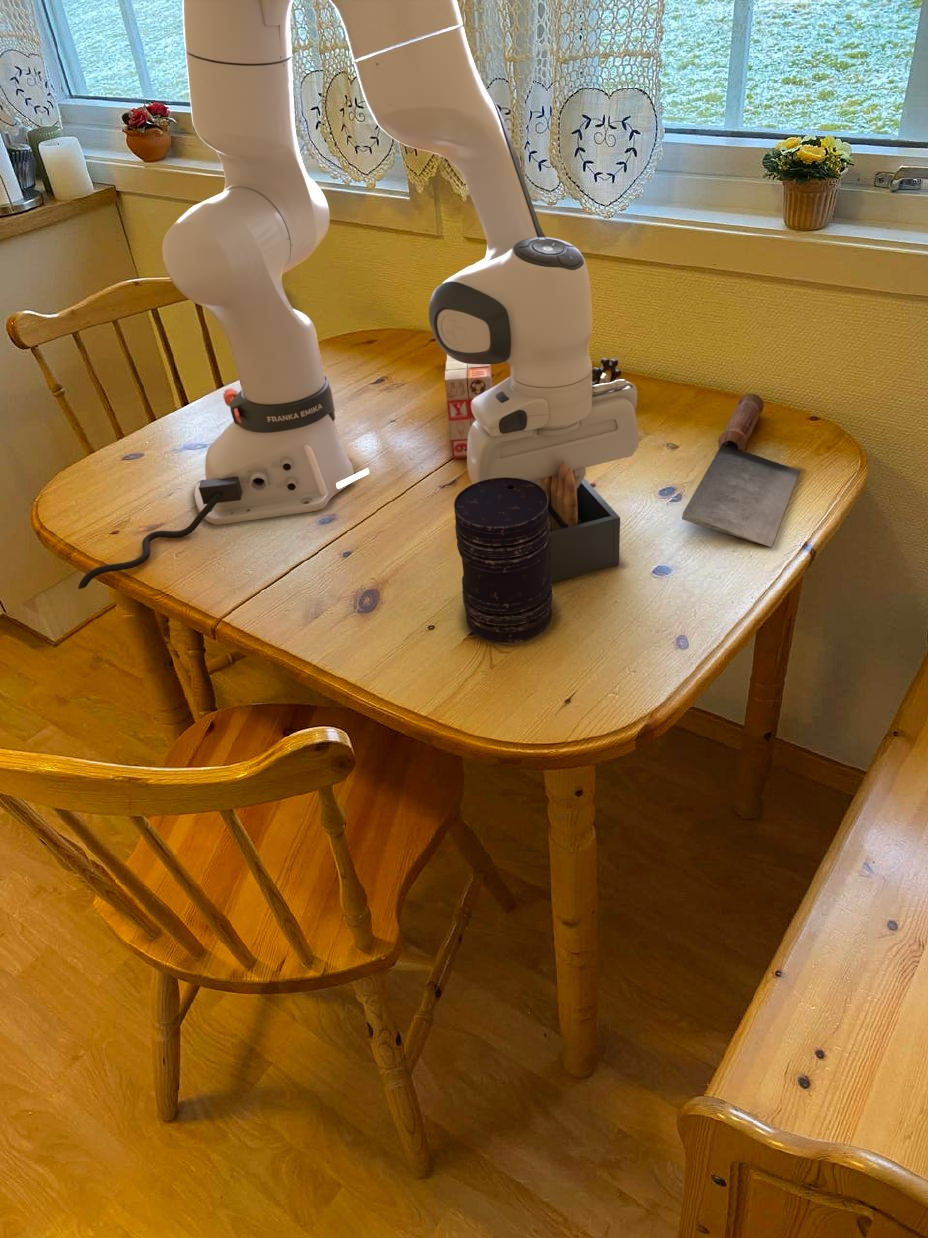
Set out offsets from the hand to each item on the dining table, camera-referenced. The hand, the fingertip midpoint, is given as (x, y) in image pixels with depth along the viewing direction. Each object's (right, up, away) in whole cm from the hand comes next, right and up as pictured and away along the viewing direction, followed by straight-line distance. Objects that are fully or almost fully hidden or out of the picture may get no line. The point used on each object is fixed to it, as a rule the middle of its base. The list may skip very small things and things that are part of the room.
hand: (555, 502), depth 111 cm
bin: (0, -4, +3) cm, 6 cm away
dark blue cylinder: (-6, -14, -7) cm, 17 cm away
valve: (+7, +22, +36) cm, 43 cm away
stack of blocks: (-9, +16, +30) cm, 35 cm away
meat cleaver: (+28, +6, +12) cm, 31 cm away
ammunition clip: (+1, -4, +3) cm, 5 cm away
